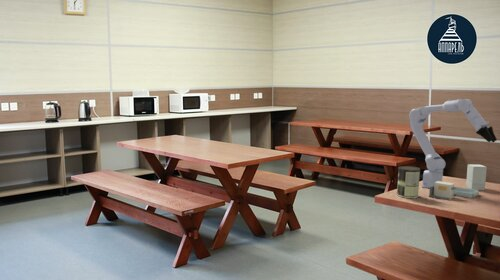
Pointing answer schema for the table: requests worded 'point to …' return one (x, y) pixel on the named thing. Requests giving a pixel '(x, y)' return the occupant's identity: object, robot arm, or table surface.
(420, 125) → the robot arm
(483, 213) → the table surface
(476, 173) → the supplement box
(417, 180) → the coffee can
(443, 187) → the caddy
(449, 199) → the dock
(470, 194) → the tray
